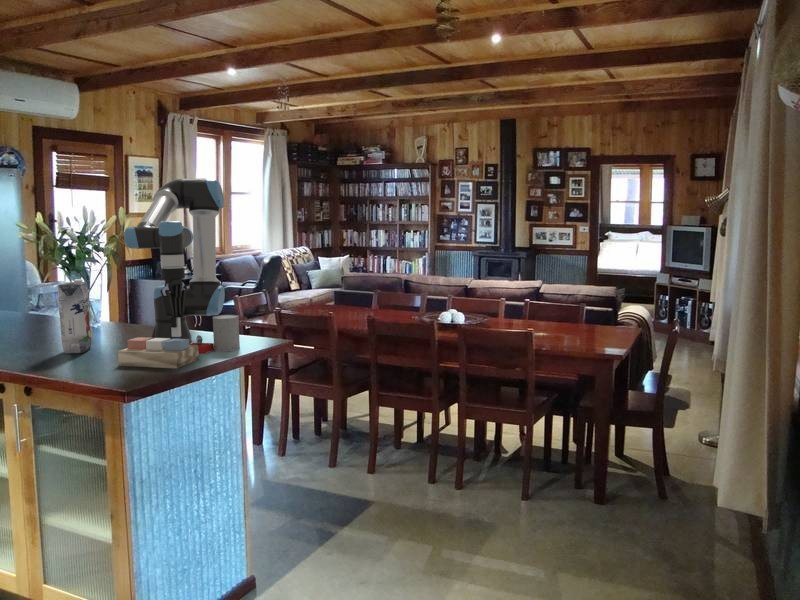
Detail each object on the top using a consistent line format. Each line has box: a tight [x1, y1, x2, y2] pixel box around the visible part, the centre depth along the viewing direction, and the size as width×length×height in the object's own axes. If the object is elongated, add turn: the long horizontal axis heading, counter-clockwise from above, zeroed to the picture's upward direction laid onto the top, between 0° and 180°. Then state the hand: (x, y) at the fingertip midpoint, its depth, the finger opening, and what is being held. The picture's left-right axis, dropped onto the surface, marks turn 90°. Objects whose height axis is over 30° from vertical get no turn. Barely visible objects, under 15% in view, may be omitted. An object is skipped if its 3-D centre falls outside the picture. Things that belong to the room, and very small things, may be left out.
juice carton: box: [57, 278, 92, 354], centre depth 262 cm, size 9×10×27 cm
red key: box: [126, 336, 152, 349], centre depth 243 cm, size 6×6×3 cm
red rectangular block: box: [189, 334, 215, 354], centre depth 261 cm, size 8×7×6 cm
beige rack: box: [117, 345, 200, 369], centre depth 242 cm, size 14×22×5 cm, turn 76°
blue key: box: [165, 339, 190, 351], centre depth 240 cm, size 6×6×3 cm
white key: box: [146, 338, 171, 350], centre depth 242 cm, size 6×6×3 cm
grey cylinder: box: [211, 314, 241, 353], centre depth 264 cm, size 10×10×12 cm
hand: (176, 336), depth 240 cm, fingers closed
